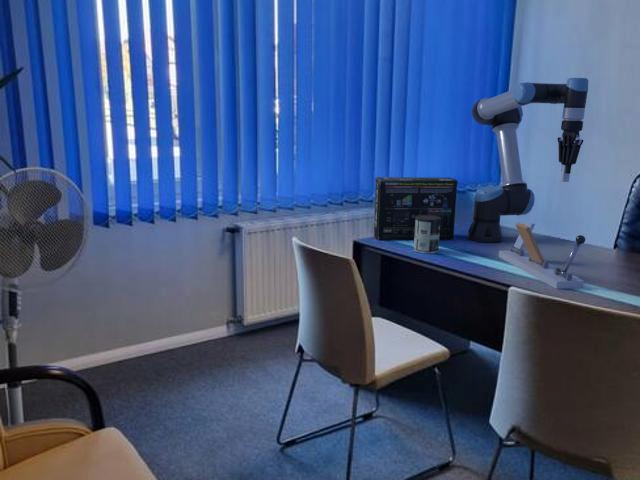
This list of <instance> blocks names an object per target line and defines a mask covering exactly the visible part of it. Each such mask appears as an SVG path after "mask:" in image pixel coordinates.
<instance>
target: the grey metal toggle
mask: <svg viewBox="0 0 640 480" xmlns="http://www.w3.org/2000/svg"><path fill="white" fill-rule="evenodd" d="M584 243H586V237H585V236H584V235H580V234H579V235H577V236H576V237H575V244H574V245H573V248H572V249H571V252H570V254H569V256H568V258H567V260H566V262H565V263H564V265H563V268H561V269H562V270H561V269H558V270H557V271H556V273H557V274H559V275H561V276H563V277H565V278H566V273H567V272H568V271H569V269H570V267H571V265H572V262H573V261H574V259H575V257H576V255H577V253H578V251H579V248H580V247H581V245H582V244H584Z"/></svg>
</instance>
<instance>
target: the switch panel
mask: <svg viewBox="0 0 640 480" xmlns="http://www.w3.org/2000/svg"><path fill="white" fill-rule="evenodd" d="M514 245H515V244H514ZM514 245H510V247H509V250H499V251H498V258H499V259H501V260H504V261H505V262H507V263H509V264H510V265H513V266H514V267H516V268H518V269H520V270H522V271H523V272H525V273H527V274H529V275H530V276H533V277H534V278H536V279H538V280H539V281H541V282H543V283H545V284H547V285H548V286H550V287H552V288H554V289H556V290H561V289H564V290H565V289H581V288H584V284H585V280H583V279H582V278H580V277H578V276H575V275H574V274H572V273H569V272H568V271H567V273H566V278H565V277H563V276H561V275H559V274H557V273H556V271H557V270H558V269H561V270H562V269H563V268H561V267H557V266H555V265H553V264H551V263H550V262H548V261H545V262H543V266H541V265H539V264H537V263H535V262H534V261H532V260H531V259H530V258H531V257H530V255H529V253H528V251H525V250H524V249H523V250H519V254H518V253H516V252H514V251H512V247H514Z"/></svg>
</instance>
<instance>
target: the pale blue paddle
mask: <svg viewBox="0 0 640 480" xmlns="http://www.w3.org/2000/svg"><path fill="white" fill-rule="evenodd" d="M524 225H526V226H528V227H529V228H530V230H531V232H532V233H533V230H534V228H535V226H536V224H535V223H532V222H530V221H527V220H526V221H525V222H524ZM518 234H519V233H518ZM524 248H525V244H524V242H523V240H522V238H521V236H520V234H519V235H518V237H517V238H516V241H515V243H514V247H512V251H514V252H516V253H518V254H519V250H524Z"/></svg>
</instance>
